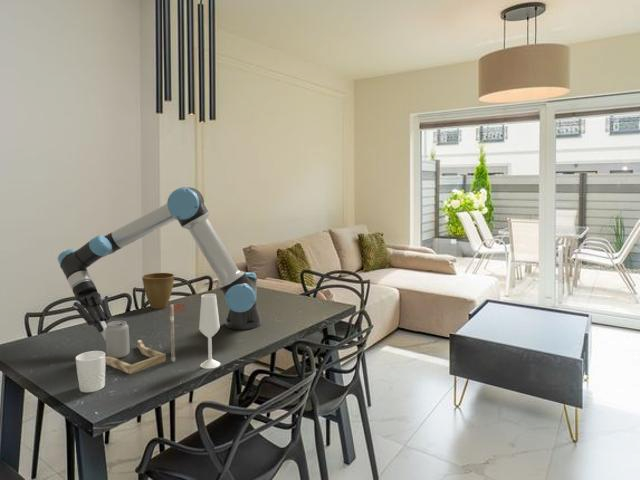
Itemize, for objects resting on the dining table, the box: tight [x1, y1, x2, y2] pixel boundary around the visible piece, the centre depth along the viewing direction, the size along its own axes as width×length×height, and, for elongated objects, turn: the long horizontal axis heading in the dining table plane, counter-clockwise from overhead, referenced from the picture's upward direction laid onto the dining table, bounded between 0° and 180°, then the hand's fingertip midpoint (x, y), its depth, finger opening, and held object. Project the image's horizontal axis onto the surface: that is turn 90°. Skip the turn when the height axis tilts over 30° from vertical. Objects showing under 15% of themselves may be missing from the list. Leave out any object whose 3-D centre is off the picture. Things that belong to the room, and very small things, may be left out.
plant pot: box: [141, 272, 175, 310], centre depth 221 cm, size 15×15×16 cm
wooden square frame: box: [105, 301, 185, 375], centre depth 154 cm, size 23×23×20 cm
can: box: [105, 320, 131, 359], centre depth 158 cm, size 8×8×12 cm
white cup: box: [75, 350, 106, 393], centre depth 133 cm, size 8×8×10 cm
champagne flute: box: [198, 293, 221, 369], centre depth 150 cm, size 7×7×24 cm
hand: (108, 338), depth 161 cm, fingers closed
